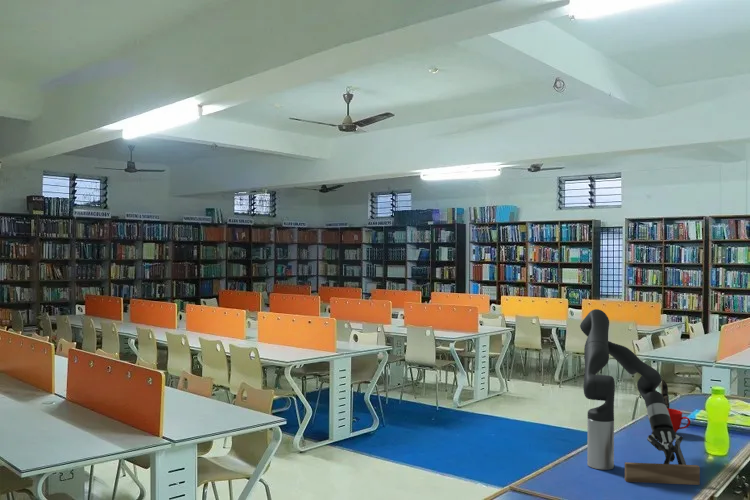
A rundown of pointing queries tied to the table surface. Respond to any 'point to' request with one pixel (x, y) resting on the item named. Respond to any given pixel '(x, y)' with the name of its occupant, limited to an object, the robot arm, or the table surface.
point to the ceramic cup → (677, 419)
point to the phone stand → (677, 451)
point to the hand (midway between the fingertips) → (671, 460)
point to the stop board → (662, 473)
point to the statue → (665, 393)
